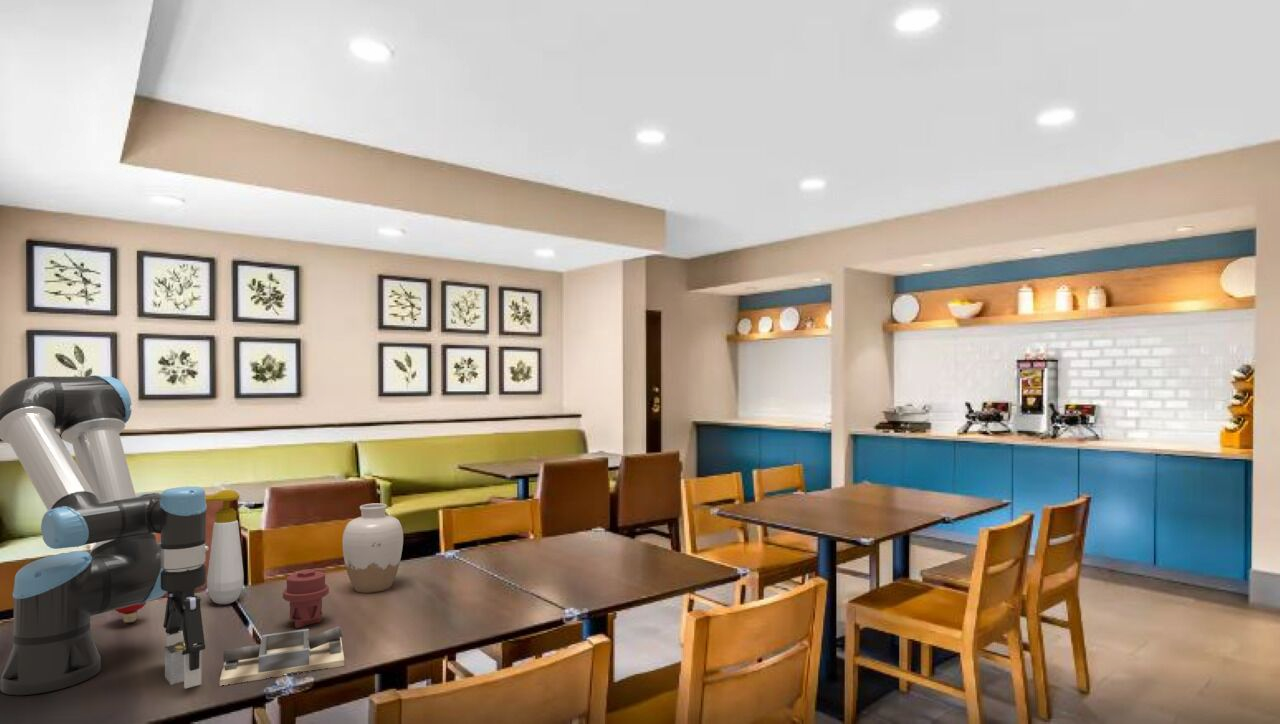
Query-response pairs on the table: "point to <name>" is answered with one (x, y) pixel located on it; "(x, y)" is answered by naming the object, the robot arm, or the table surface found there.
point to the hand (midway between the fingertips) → (183, 675)
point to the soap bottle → (225, 553)
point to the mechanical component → (305, 596)
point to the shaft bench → (283, 655)
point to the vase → (372, 549)
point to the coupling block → (174, 663)
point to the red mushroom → (130, 612)
